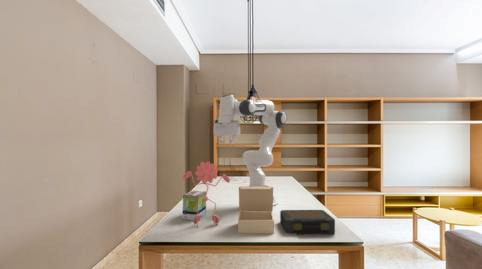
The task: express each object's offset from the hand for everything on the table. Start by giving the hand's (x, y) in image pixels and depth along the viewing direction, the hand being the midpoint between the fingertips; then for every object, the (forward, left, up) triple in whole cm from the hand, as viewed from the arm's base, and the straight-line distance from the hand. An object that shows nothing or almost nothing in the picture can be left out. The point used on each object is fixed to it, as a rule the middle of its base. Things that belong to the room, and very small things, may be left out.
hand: (226, 143), depth 174 cm
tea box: (+17, -10, -45) cm, 49 cm away
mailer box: (+1, +30, -45) cm, 54 cm away
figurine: (+18, +7, -45) cm, 49 cm away
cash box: (-22, +44, -45) cm, 67 cm away
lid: (-1, +28, -31) cm, 42 cm away
